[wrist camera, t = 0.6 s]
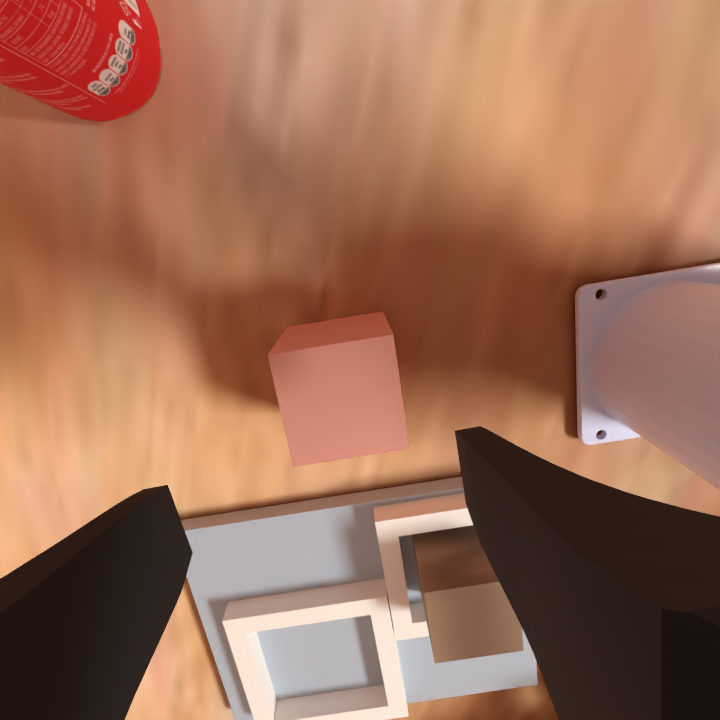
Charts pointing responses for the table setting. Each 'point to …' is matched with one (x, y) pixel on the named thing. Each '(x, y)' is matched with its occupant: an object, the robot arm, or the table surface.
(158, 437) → the table surface
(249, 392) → the table surface
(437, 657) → the walnut cube
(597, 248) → the table surface
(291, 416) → the brick-red block
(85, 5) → the beverage can
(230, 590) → the board
